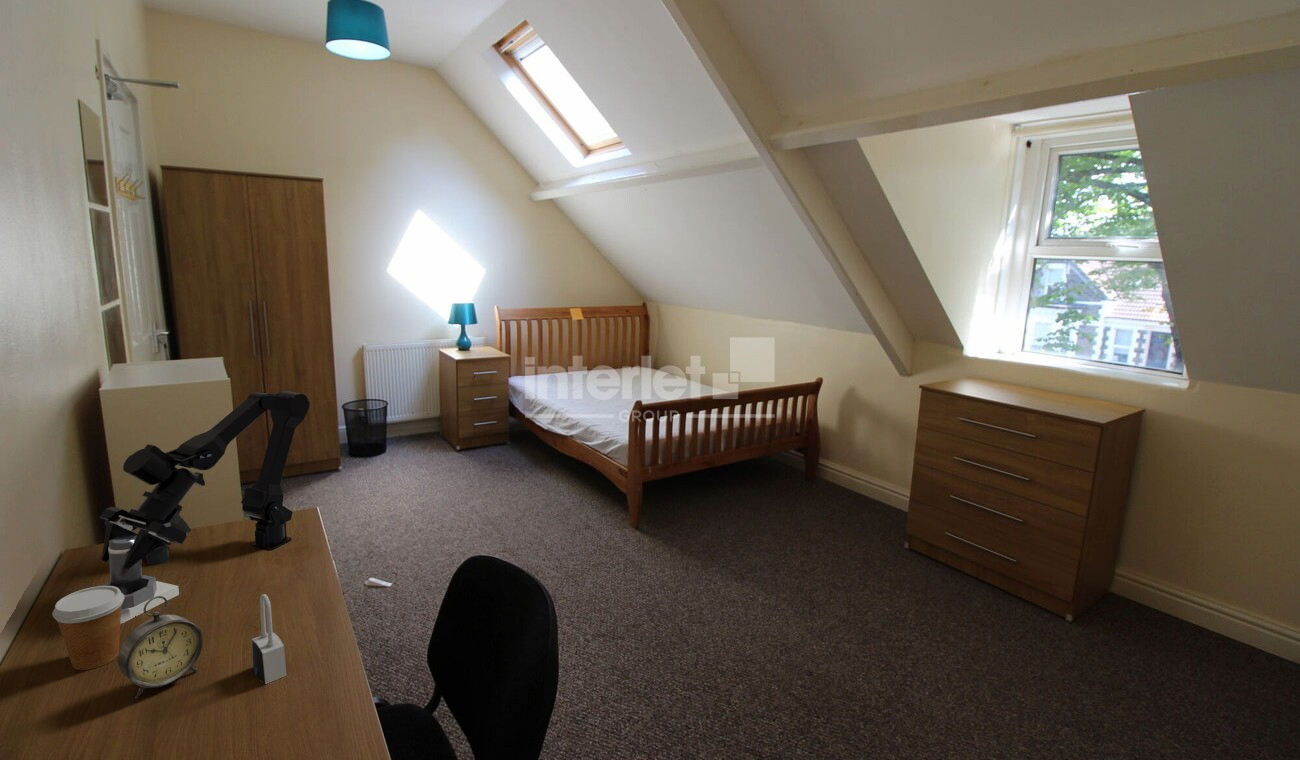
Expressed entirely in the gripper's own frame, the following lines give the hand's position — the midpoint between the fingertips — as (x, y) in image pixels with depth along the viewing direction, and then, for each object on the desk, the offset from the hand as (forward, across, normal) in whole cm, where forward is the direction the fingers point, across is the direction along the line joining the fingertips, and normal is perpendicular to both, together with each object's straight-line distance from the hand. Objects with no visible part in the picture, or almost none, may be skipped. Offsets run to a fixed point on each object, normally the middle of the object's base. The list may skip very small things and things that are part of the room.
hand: (114, 564), depth 125 cm
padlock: (+9, -43, -6) cm, 45 cm away
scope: (-5, +15, -19) cm, 25 cm away
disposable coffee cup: (+15, -13, +1) cm, 20 cm away
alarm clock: (+15, -30, +1) cm, 34 cm away
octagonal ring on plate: (+6, 0, -8) cm, 10 cm away
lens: (+4, 0, -7) cm, 8 cm away
